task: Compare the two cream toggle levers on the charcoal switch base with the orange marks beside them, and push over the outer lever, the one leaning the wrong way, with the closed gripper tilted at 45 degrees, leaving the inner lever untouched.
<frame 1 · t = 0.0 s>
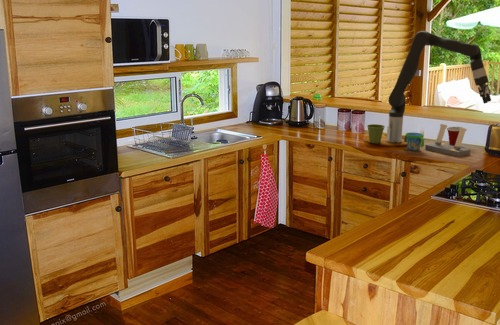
hand: (487, 102, 334), 31 cm above the worktop, tool tilted 20°, fingers open, 8 cm apart
outer lever: (460, 138, 338), point 9 cm above the worktop, hinge at 20.0°
plant pot: (375, 142, 371), on the worktop
switch base: (447, 151, 345), on the worktop
plastic cup: (453, 146, 360), on the worktop
snack cup: (413, 150, 350), on the worktop
inner lever: (440, 134, 349), point 9 cm above the worktop, hinge at 20.0°
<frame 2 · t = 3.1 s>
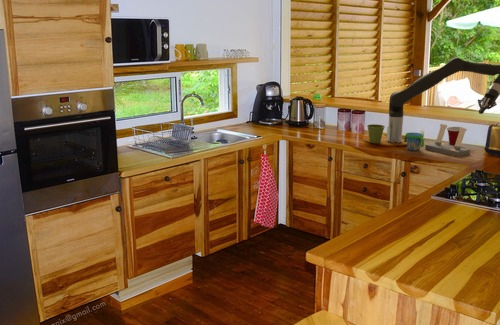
hand: (480, 113, 344), 23 cm above the worktop, tool tilted 45°, fingers closed
nothing on the worktop moved.
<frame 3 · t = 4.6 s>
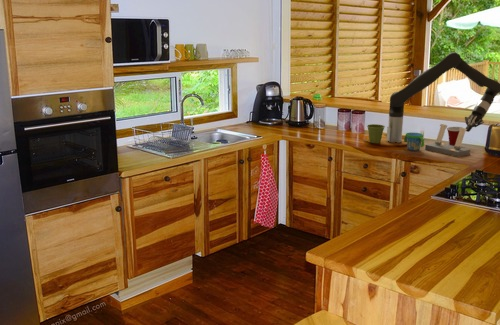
hand: (467, 130, 340), 13 cm above the worktop, tool tilted 45°, fingers closed
nothing on the worktop moved.
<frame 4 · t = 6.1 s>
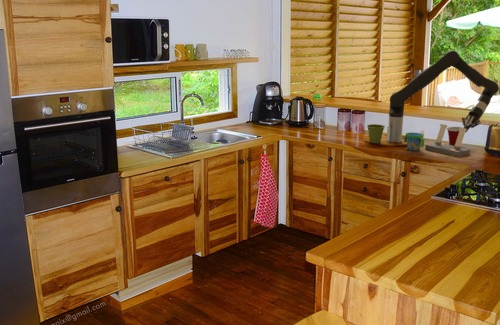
hand: (464, 131, 339), 13 cm above the worktop, tool tilted 45°, fingers closed
outer lever: (460, 138, 338), point 9 cm above the worktop, hinge at 20.0°, touching gripper
everything else where it was.
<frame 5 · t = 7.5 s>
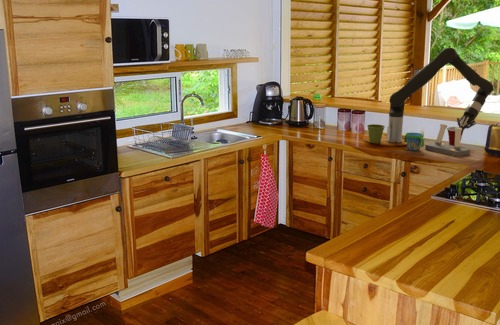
hand: (459, 132, 336), 13 cm above the worktop, tool tilted 45°, fingers closed
outer lever: (457, 138, 336), point 10 cm above the worktop, hinge at -4.0°, touching gripper
everything else where it was.
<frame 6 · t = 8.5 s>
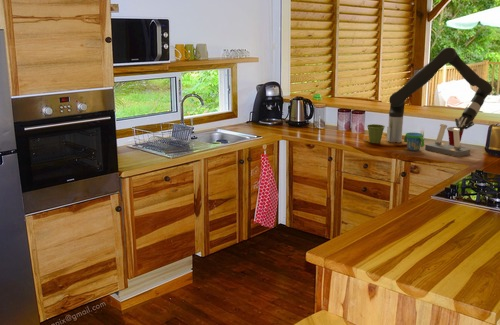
hand: (457, 133, 335), 13 cm above the worktop, tool tilted 45°, fingers closed
outer lever: (456, 138, 336), point 10 cm above the worktop, hinge at -14.3°, touching gripper
everything else where it was.
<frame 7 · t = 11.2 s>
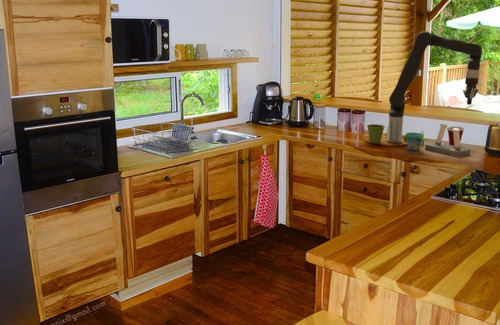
hand: (469, 104, 347), 28 cm above the worktop, tool pointing down, fingers closed
outer lever: (456, 138, 336), point 10 cm above the worktop, hinge at -14.5°
everything else where it was.
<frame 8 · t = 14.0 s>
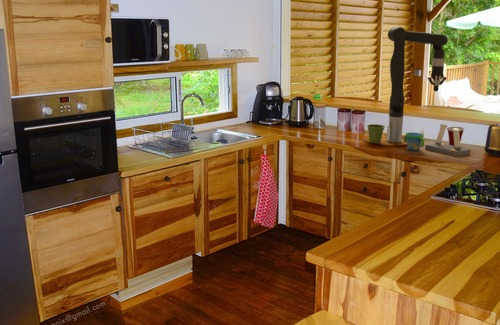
hand: (435, 91, 372), 33 cm above the worktop, tool pointing down, fingers closed
nothing on the worktop moved.
at the end: outer lever at -14° (first picture: +20°); inner lever at +20° (first picture: +20°) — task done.
